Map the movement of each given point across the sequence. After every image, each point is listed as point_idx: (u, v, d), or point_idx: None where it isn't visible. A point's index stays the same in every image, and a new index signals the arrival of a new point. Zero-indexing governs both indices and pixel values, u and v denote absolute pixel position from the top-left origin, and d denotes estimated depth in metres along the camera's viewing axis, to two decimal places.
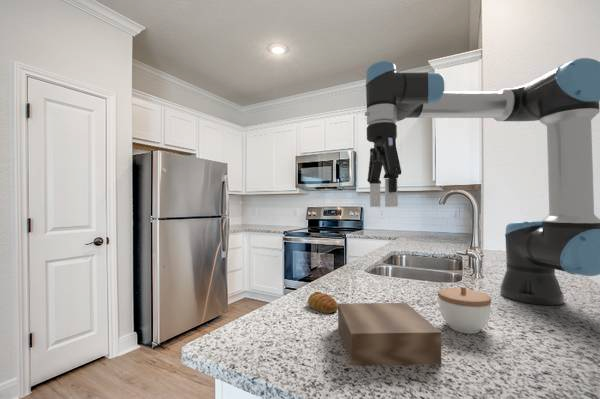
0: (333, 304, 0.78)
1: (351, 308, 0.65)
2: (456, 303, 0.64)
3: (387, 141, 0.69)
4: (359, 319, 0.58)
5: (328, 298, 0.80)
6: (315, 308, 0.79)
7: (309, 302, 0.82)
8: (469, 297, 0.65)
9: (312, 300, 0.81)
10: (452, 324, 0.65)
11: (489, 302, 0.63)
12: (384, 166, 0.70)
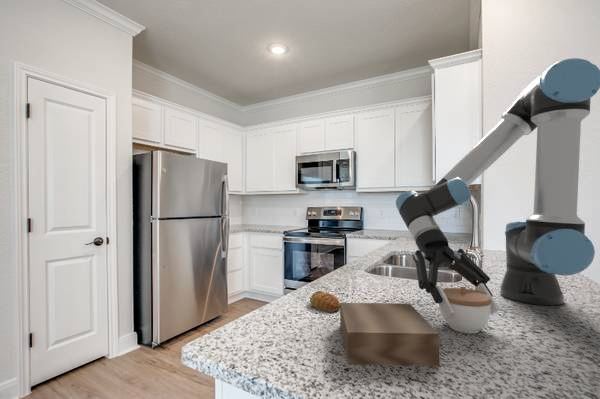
0: (336, 303, 0.79)
1: (352, 307, 0.65)
2: (456, 303, 0.64)
3: (414, 258, 0.75)
4: (358, 319, 0.58)
5: (330, 297, 0.81)
6: (318, 307, 0.80)
7: (311, 301, 0.82)
8: (469, 297, 0.65)
9: (314, 299, 0.82)
10: (452, 324, 0.65)
11: (489, 302, 0.63)
12: None
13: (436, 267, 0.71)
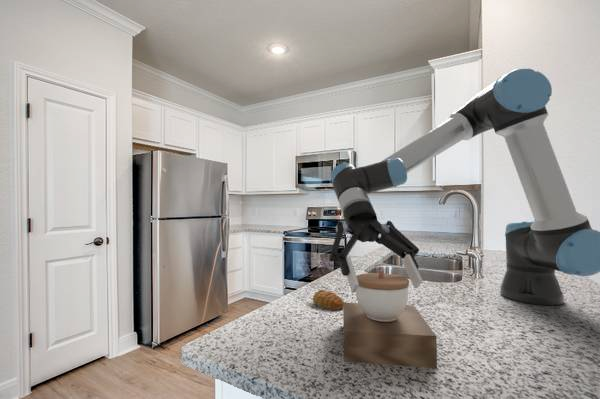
0: (340, 301, 0.80)
1: (354, 307, 0.66)
2: (366, 287, 0.57)
3: (335, 230, 0.68)
4: (357, 318, 0.59)
5: (334, 295, 0.83)
6: (322, 306, 0.81)
7: (315, 300, 0.83)
8: (382, 280, 0.57)
9: (318, 298, 0.83)
10: (365, 311, 0.58)
11: (404, 286, 0.56)
12: None
13: (353, 239, 0.64)
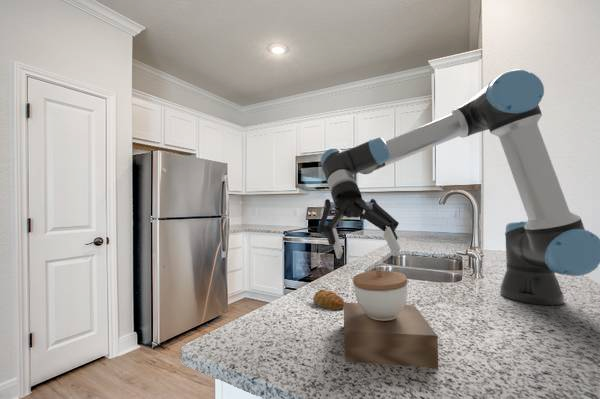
0: (341, 301, 0.81)
1: (355, 307, 0.66)
2: (362, 288, 0.57)
3: (324, 207, 0.75)
4: (357, 318, 0.59)
5: (334, 295, 0.83)
6: (323, 305, 0.81)
7: (315, 300, 0.84)
8: (379, 280, 0.57)
9: (319, 298, 0.83)
10: (364, 311, 0.59)
11: (400, 285, 0.56)
12: None
13: (339, 214, 0.71)
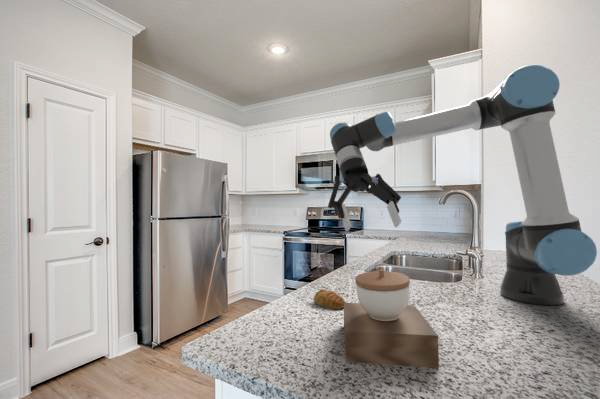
0: (341, 300, 0.81)
1: (355, 307, 0.66)
2: (363, 287, 0.57)
3: (333, 182, 0.82)
4: (358, 318, 0.59)
5: (335, 295, 0.83)
6: (323, 305, 0.82)
7: (316, 300, 0.84)
8: (380, 281, 0.57)
9: (319, 298, 0.83)
10: (365, 310, 0.59)
11: (400, 287, 0.55)
12: None
13: (348, 190, 0.79)
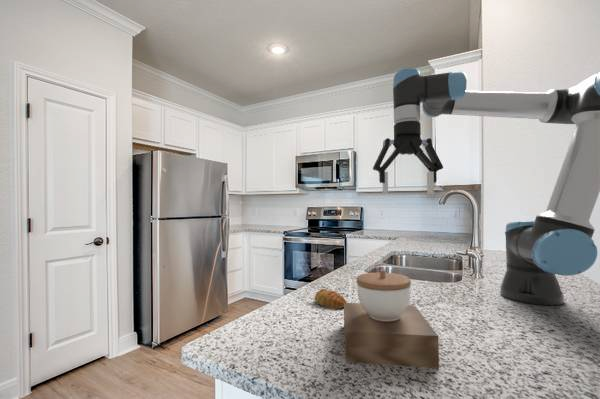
0: (342, 299, 0.82)
1: (355, 307, 0.65)
2: (364, 287, 0.58)
3: (383, 143, 0.88)
4: (358, 319, 0.59)
5: (336, 294, 0.84)
6: (325, 304, 0.82)
7: (317, 299, 0.84)
8: (381, 280, 0.57)
9: (320, 297, 0.83)
10: (365, 310, 0.59)
11: (401, 286, 0.55)
12: None
13: (394, 156, 0.86)
